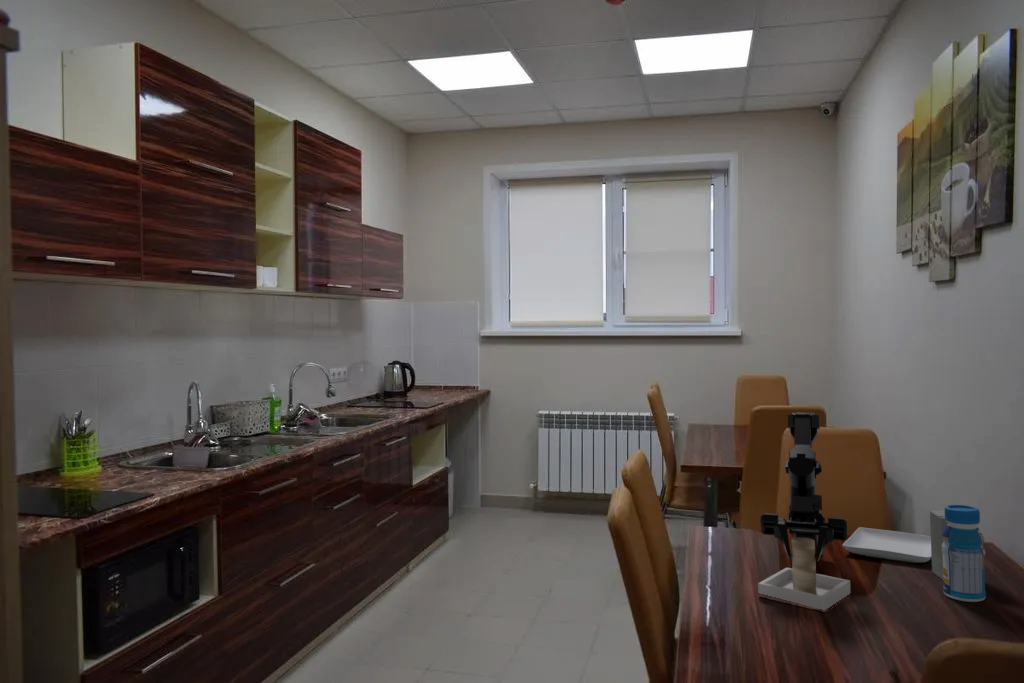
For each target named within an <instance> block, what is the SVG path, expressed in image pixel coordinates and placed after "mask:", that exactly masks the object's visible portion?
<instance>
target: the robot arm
mask: <svg viewBox="0 0 1024 683" xmlns="http://www.w3.org/2000/svg"><path fill="white" fill-rule="evenodd" d="M786 419H787V420H786V422H787V424H786V425H787V429H788V430H789V431H790V432H789V433H790V437H791V438H792V440H793V442H794V444H793V445H794V447H792V449H791V450H789V451H788V452H789V454H788V459H786V460H785V474H788V477H789V478H788V479H789V485H790V487H789V488H790V490H789V491H790V492H789V500H790V501H789V503H790V504H789V510H788V519H785V518H780V517H779V513H770V512H769V513H768V512H766V513H765V512H763V513H761V515H760V528H761V529H760V530H761V534H763V535H765V536H774V538H775V539H778V540H779V541H780V542H781V544H782V546H783V548H784V550H785V553H786V557H787V558H788V559H789V560H792V556H791V555H792V552H791V547H790V540H789V539H790V538H789V534H791V535H792V534H793V535H794V538H796V537H805V538H811V539H813V540H815V558H817V559H816V562H819V561H820V559H821V557H822V556H823V555H824V549H825V548H826V547H827V546H828V544H829V543H833V542H834V541H846V540H848V525H847V524H848V522H847V520H846V519H845V518H844V517H835V516H832V517H830V516H828V517H827V522H826V518H825V517H824V515H823V512H820V511H822V510H823V495H822V494H816V483H815V482H816V479H817V476H819V475H820V474H821V473H822V470H823V469H822V464H820V462H819V460H817V457H816V451H814V449H813V448H812V447H813V445H814V443H815V441H816V440H817V438H818V430H819V431H820V429H821V428H820V427H821V425H820V423H821V422H820V419H821V418H820V415H817V414H815V412H791V413H790V414H788V415H786ZM821 555H822V556H821Z"/></svg>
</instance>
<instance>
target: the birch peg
mask: <svg viewBox="0 0 1024 683" xmlns="http://www.w3.org/2000/svg"><path fill="white" fill-rule="evenodd" d="M791 553H792V556H791V563H792V566H791V567H792V571H793V590H797V591H802V592H806V593H810V594H815V595H816V594H817V591H816V574H817V570H816V569H817V567H816V566H817V564H816V562H817V559H815V540H813V539H811V538H805V537H796V538H795V537H793V538H792V537H791Z"/></svg>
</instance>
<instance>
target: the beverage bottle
mask: <svg viewBox="0 0 1024 683" xmlns="http://www.w3.org/2000/svg"><path fill="white" fill-rule="evenodd" d="M944 511H945V520H946V522H948V524H947V525H946V527H945V528H944V530H943V532H942V539H943V543H942V545H941V550H942V553H943V577H944V580H943V586H942V589H943V590H942V591H943V594H944V595H945V596H947V597H948V598H951V599H952V600H955V601H956V600H957V601H961V602H967V603H968V602H969V603H978V602H982V601H984V600H985V599H986V598H987V595H986V582H985V581H986V580H985V576H986V575H985V557H986V549H985V547H984V543H985V538H984V534H983V533H982V531H981V530H980V528H979V527H978V525H980V521H981V514H980V513H981V512H980V509H979V508H978V507H976V506H972V505H965V504H949V505H946V506H945V507H944ZM976 525H977V526H976Z"/></svg>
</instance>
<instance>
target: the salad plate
mask: <svg viewBox="0 0 1024 683" xmlns="http://www.w3.org/2000/svg"><path fill="white" fill-rule="evenodd" d="M842 548H844V549H845V550H846V551H848V553H849V552H850V553H851V554H856V555H859V556H863V555H865V557H871V558H877V559H883V558H884V559H885V560H892V561H899V562H904V563H906V562H907V563H914V564H915V563H916V564H917V563H919V564H921V563H923V564H924V563H927V562H929V561H930V560H932V555H931V535H925V534H917V533H910V532H904V531H896V530H895V531H894V530H890V529H889V530H886V529H878V528H870V527H862V526H861V527H860V526H859V527H858V528H856V530H855V531H854V532H853V533H852V534H851V535H850V536H849V538H847V539H846V540H844V542H843V544H842Z"/></svg>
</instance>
